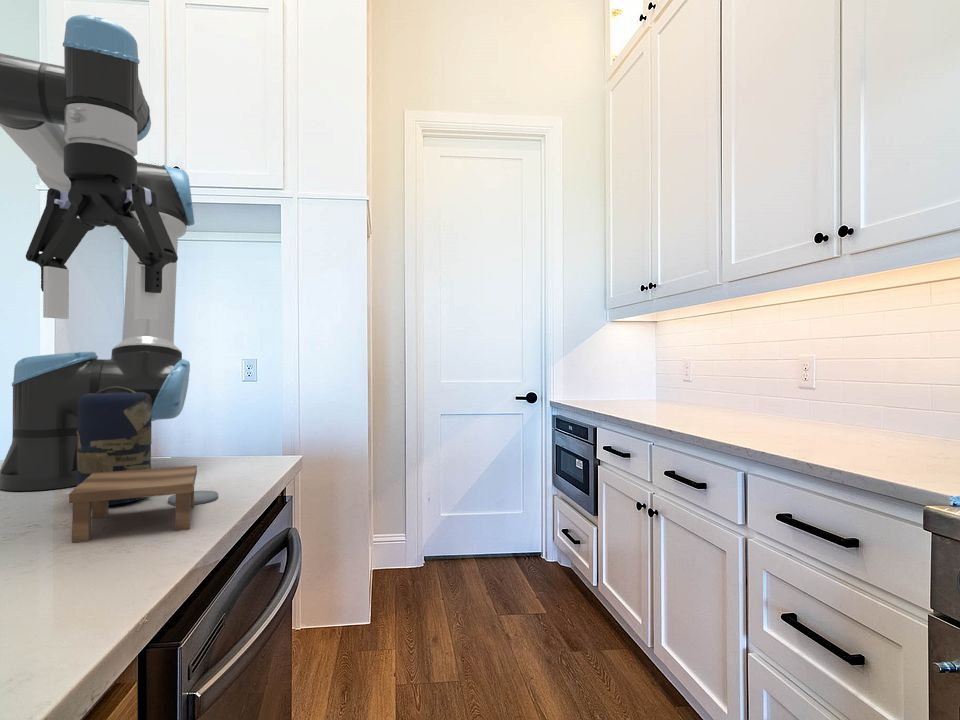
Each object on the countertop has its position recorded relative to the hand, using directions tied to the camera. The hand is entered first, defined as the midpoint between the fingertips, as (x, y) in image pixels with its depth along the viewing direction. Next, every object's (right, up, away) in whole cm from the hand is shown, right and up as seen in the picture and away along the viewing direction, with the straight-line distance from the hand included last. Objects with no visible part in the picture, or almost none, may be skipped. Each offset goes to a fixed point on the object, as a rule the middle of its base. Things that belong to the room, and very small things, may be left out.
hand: (100, 319), depth 66 cm
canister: (-9, -28, +15) cm, 33 cm away
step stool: (+2, -27, +5) cm, 28 cm away
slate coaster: (+3, -27, +16) cm, 32 cm away
